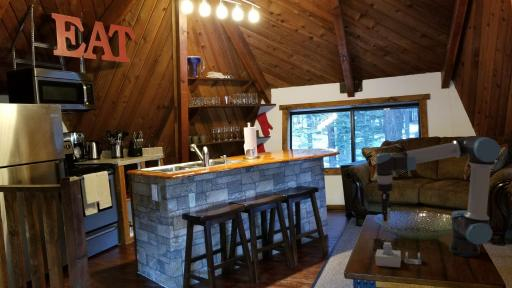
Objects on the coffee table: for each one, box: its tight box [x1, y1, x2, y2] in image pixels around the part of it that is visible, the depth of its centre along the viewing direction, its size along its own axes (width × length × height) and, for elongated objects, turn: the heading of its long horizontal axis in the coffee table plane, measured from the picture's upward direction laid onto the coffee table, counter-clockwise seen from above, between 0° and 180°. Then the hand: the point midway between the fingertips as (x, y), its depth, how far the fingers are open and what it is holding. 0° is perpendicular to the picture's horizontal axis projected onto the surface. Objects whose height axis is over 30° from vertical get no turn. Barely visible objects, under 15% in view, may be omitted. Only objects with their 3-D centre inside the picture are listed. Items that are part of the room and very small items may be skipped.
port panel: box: [374, 249, 402, 268], centre depth 210 cm, size 12×10×6 cm
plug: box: [383, 241, 393, 255], centre depth 210 cm, size 4×3×9 cm
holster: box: [404, 251, 422, 265], centre depth 209 cm, size 8×6×5 cm
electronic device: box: [373, 237, 387, 252], centre depth 229 cm, size 4×10×8 cm, turn 44°
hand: (386, 223), depth 208 cm, fingers open, 12 cm apart
